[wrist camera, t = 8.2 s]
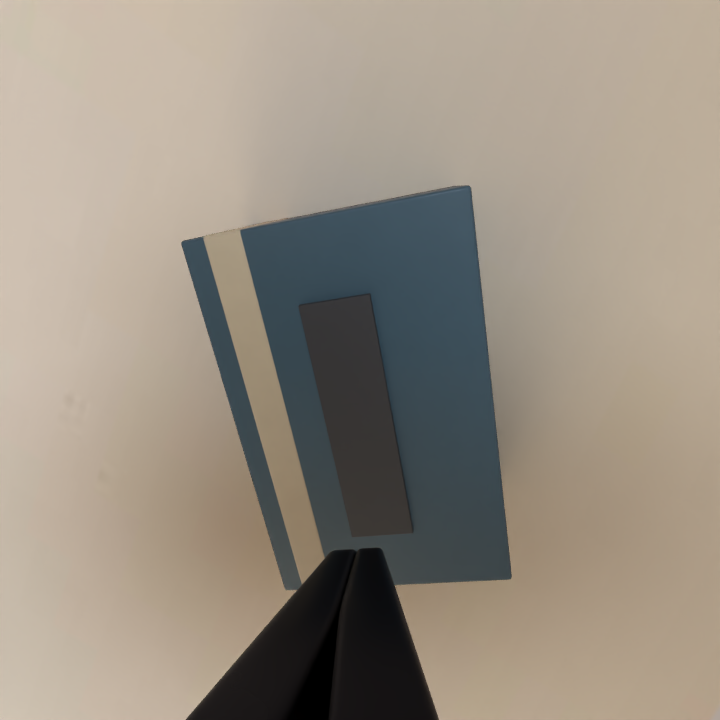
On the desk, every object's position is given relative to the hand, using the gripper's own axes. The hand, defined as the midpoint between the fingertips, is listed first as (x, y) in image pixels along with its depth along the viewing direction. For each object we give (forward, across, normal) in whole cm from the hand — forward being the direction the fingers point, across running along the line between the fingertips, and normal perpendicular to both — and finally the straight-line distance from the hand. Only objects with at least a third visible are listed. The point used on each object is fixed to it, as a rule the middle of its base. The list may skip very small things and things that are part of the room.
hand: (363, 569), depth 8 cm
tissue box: (+7, +1, 0) cm, 7 cm away
